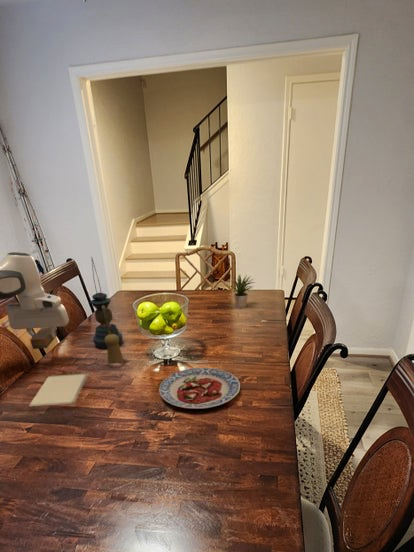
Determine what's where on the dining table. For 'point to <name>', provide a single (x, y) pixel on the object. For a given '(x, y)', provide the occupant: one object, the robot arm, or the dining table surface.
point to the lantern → (103, 318)
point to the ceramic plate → (199, 388)
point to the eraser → (42, 338)
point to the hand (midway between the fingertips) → (44, 338)
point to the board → (59, 390)
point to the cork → (113, 349)
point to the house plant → (241, 291)
